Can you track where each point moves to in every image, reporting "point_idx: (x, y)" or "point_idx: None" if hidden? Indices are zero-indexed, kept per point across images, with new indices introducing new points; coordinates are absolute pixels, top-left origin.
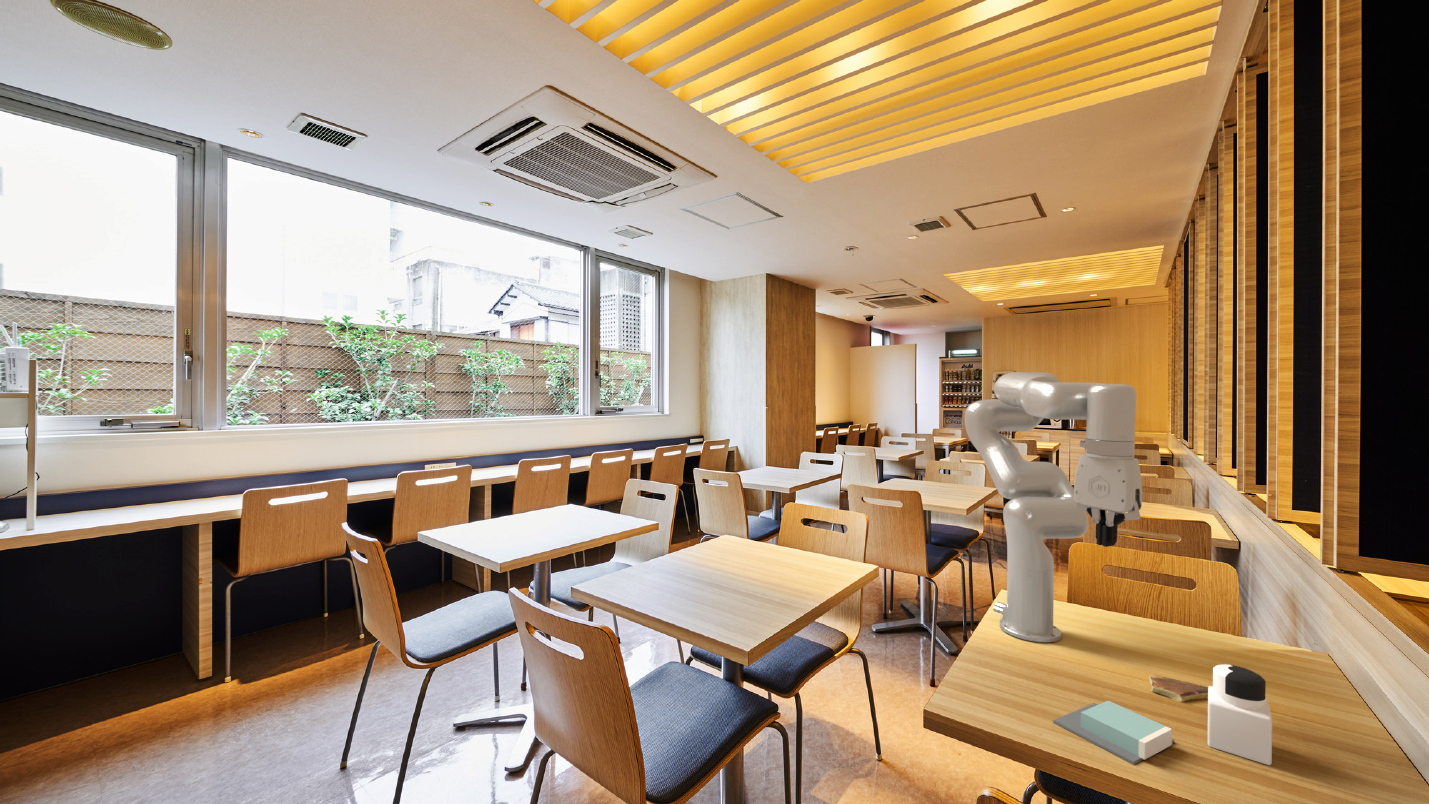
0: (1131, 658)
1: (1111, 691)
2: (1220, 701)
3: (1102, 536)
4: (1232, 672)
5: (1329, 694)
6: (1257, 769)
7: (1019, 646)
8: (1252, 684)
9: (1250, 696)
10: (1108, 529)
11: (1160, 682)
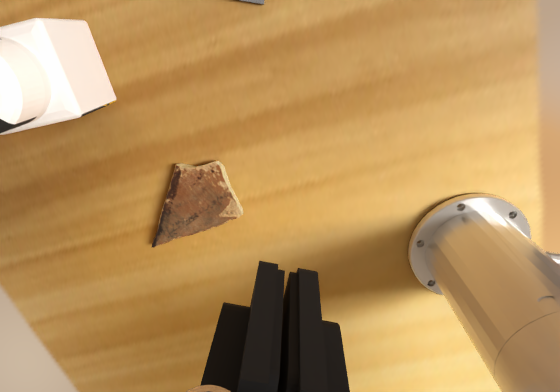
0: (292, 271)
1: (265, 101)
2: (24, 37)
3: (278, 308)
4: None
5: (84, 355)
6: (16, 7)
7: (461, 157)
8: None
9: None
10: (239, 378)
11: (215, 189)
